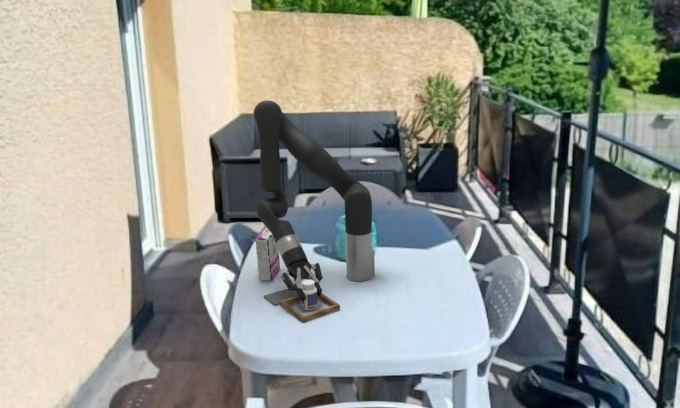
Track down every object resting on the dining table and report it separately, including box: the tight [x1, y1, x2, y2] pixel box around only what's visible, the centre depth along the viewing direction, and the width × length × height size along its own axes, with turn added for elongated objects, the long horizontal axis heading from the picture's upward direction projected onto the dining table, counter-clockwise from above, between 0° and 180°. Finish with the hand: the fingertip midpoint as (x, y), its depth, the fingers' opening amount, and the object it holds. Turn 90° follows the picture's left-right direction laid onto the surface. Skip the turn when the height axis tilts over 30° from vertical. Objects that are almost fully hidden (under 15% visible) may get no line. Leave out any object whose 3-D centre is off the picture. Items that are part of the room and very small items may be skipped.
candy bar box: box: [255, 227, 281, 282], centre depth 232 cm, size 11×5×16 cm, turn 168°
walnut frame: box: [280, 293, 341, 324], centre depth 208 cm, size 14×14×2 cm
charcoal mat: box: [262, 287, 298, 307], centre depth 217 cm, size 13×8×1 cm, turn 124°
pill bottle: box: [300, 279, 319, 311], centre depth 207 cm, size 5×5×9 cm
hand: (312, 297), depth 206 cm, fingers closed on pill bottle, 5 cm apart
